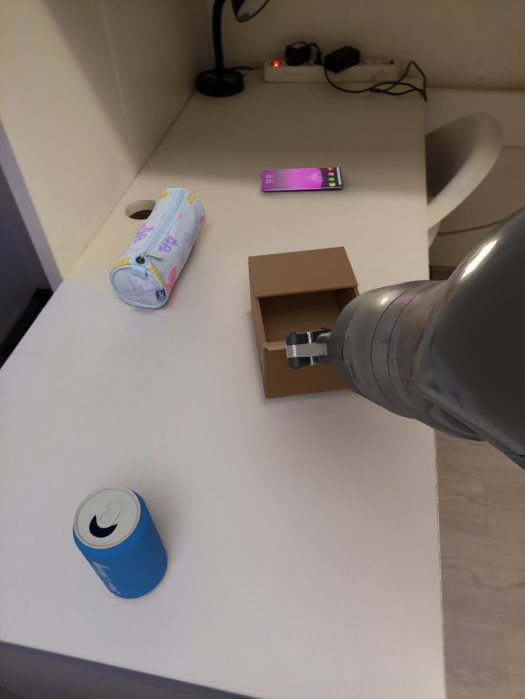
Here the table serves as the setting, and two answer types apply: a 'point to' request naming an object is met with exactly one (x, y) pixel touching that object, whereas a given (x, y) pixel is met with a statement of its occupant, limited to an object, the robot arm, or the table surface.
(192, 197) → the pencil case
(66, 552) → the table surface
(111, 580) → the beverage can
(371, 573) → the table surface
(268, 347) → the flap
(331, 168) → the smartphone
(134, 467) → the table surface
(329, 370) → the carton
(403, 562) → the table surface
